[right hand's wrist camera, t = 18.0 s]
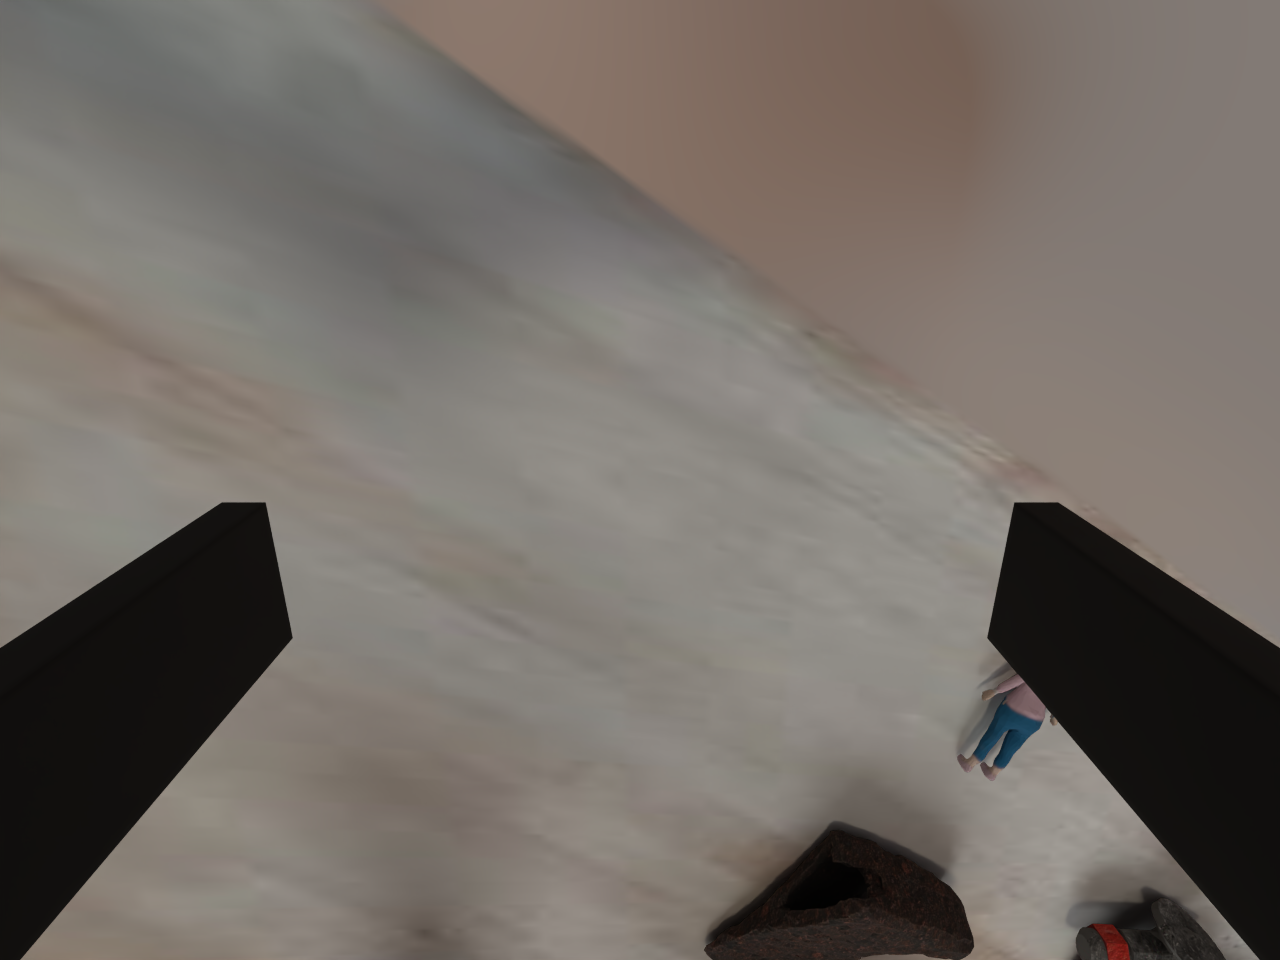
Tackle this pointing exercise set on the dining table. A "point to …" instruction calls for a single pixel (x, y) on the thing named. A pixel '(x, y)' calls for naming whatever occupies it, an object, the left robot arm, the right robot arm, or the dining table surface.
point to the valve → (1150, 939)
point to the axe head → (851, 910)
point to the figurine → (1008, 725)
